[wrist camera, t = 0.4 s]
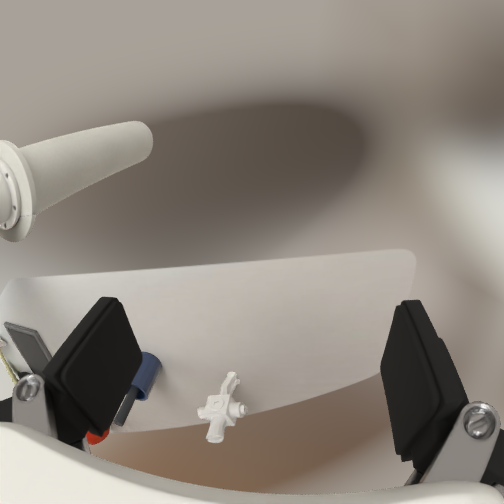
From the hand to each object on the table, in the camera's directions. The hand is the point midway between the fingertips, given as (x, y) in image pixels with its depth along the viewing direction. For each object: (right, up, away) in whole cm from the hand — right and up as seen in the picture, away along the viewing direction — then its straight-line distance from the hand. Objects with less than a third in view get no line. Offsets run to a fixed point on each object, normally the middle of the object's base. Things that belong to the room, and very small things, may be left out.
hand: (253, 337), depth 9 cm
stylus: (-18, -16, +37) cm, 44 cm away
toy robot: (-4, -18, +36) cm, 40 cm away
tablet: (-53, -23, +46) cm, 74 cm away
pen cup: (-18, -16, +37) cm, 44 cm away
